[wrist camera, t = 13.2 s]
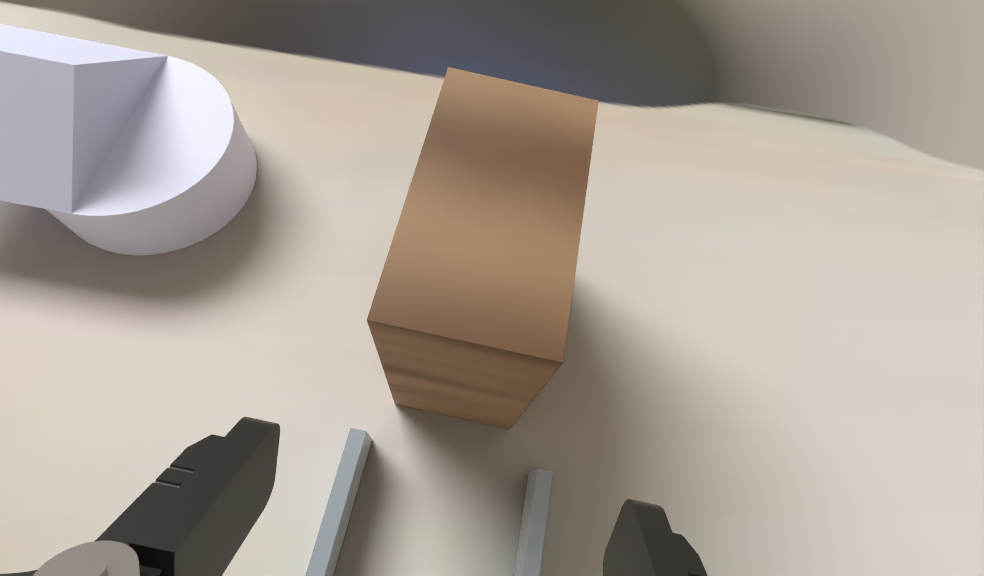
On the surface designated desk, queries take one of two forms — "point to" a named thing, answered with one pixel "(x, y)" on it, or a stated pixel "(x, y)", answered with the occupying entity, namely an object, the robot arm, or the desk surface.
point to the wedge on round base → (119, 142)
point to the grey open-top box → (345, 495)
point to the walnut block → (485, 250)
